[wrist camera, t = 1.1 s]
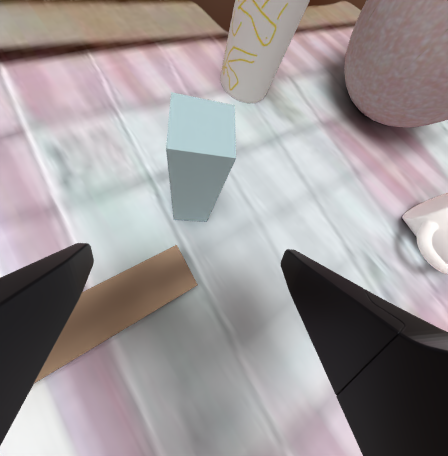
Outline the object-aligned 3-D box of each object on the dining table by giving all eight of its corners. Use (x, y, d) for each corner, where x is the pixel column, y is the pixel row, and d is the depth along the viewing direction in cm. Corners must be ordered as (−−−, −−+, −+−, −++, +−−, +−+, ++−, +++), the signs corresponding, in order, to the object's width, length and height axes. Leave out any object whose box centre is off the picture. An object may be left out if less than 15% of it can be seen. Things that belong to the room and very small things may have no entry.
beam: (195, 284, 21) (197, 284, 18) (0, 400, 15) (-40, 427, 13) (177, 249, 22) (176, 244, 19) (-18, 348, 16) (-61, 363, 13)
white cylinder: (210, 70, 30) (229, -55, 19) (249, 60, 33) (285, -54, 22) (238, 109, 29) (274, 2, 18) (275, 95, 32) (327, -4, 21)
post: (206, 221, 23) (236, 158, 11) (173, 219, 22) (166, 148, 10) (207, 192, 24) (234, 105, 12) (175, 189, 24) (171, 92, 11)
